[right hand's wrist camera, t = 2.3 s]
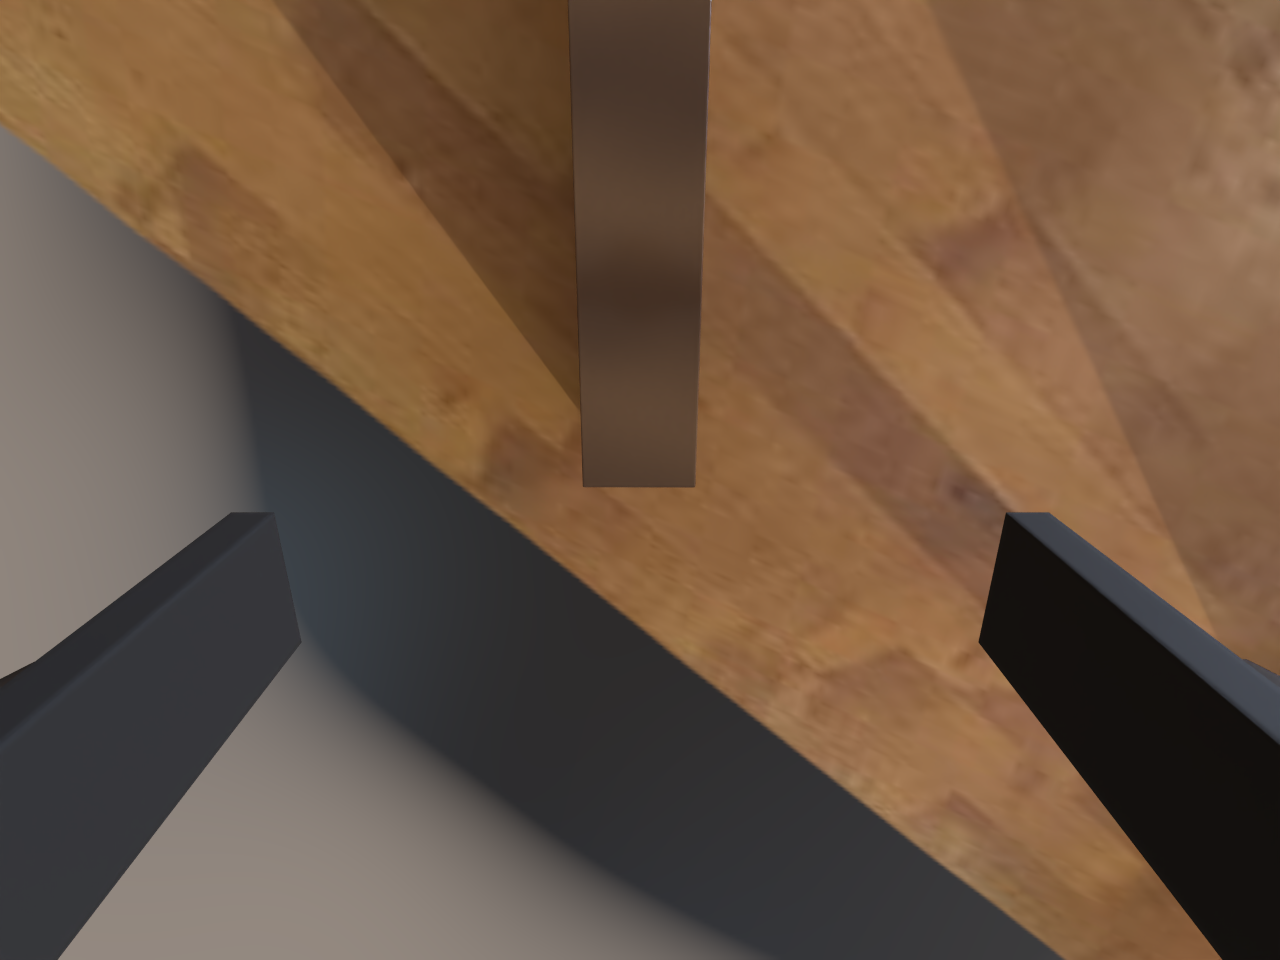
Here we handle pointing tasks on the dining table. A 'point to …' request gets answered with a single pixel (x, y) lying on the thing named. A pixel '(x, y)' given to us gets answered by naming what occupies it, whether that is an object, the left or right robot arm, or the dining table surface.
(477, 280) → the dining table surface
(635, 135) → the bar
